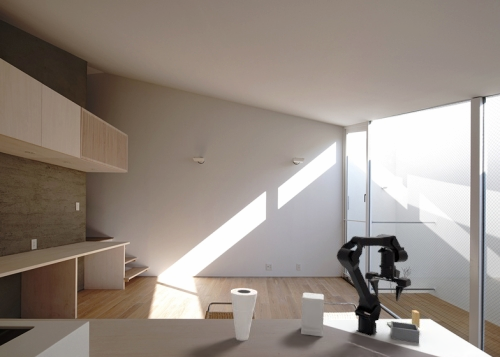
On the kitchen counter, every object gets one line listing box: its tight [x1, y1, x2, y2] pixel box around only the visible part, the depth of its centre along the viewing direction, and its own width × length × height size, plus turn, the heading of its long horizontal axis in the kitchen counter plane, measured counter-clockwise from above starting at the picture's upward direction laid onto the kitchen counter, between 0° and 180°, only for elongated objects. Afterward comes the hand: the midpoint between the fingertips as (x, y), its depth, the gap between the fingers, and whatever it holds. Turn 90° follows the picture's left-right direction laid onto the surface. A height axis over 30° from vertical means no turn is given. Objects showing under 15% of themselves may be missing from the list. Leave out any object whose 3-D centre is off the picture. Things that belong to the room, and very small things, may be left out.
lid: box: [386, 309, 421, 329], centre depth 156 cm, size 12×8×8 cm
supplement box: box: [300, 292, 325, 337], centre depth 148 cm, size 9×9×15 cm
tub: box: [390, 320, 420, 344], centre depth 145 cm, size 10×8×5 cm
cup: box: [230, 287, 258, 342], centre depth 138 cm, size 11×11×18 cm
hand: (386, 298), depth 156 cm, fingers open, 9 cm apart
